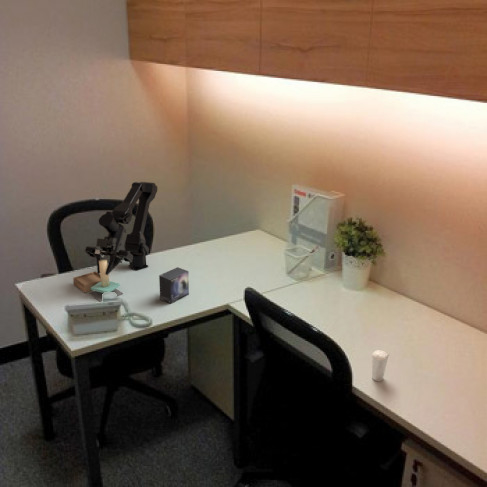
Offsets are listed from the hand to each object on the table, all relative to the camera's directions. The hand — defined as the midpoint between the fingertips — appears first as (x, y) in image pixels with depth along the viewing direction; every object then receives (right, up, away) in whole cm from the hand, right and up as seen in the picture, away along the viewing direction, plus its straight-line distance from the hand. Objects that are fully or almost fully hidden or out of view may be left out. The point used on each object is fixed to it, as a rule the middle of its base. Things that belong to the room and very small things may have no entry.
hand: (102, 274), depth 211 cm
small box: (+28, -9, +3) cm, 29 cm away
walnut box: (-8, -5, +12) cm, 15 cm away
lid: (0, -6, +4) cm, 7 cm away
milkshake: (+96, -29, -47) cm, 110 cm away
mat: (0, -8, +4) cm, 9 cm away
